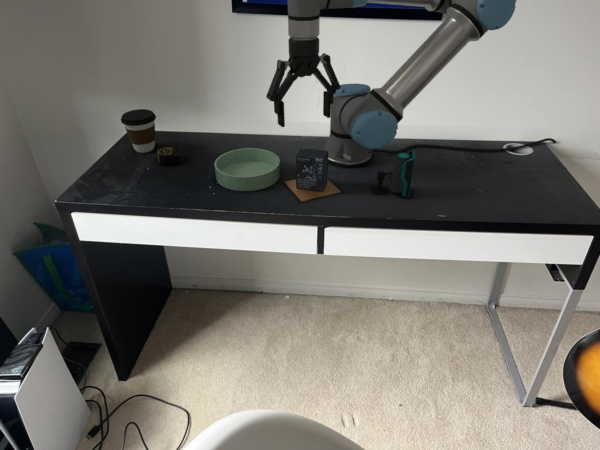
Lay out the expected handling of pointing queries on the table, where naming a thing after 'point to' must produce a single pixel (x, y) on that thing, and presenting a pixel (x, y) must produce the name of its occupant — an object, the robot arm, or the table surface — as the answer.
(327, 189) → the mat
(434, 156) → the table surface
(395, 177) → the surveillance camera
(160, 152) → the tape measure
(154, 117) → the coffee cup
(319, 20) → the robot arm
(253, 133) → the table surface
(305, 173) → the box
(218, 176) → the bowl
